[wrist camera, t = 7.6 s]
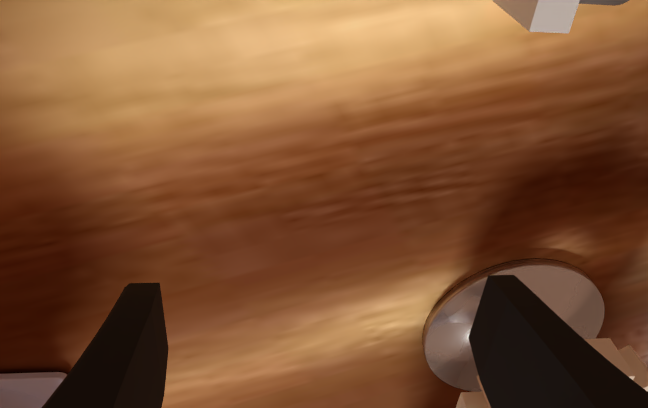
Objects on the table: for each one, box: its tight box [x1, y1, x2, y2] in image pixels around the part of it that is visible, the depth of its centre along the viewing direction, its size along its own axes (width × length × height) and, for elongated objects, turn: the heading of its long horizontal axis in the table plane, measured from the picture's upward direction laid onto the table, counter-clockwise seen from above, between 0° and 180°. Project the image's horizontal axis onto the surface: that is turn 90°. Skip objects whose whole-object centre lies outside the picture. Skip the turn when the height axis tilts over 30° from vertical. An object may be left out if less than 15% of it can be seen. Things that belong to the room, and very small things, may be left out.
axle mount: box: [422, 259, 605, 392], centre depth 26 cm, size 9×9×4 cm
